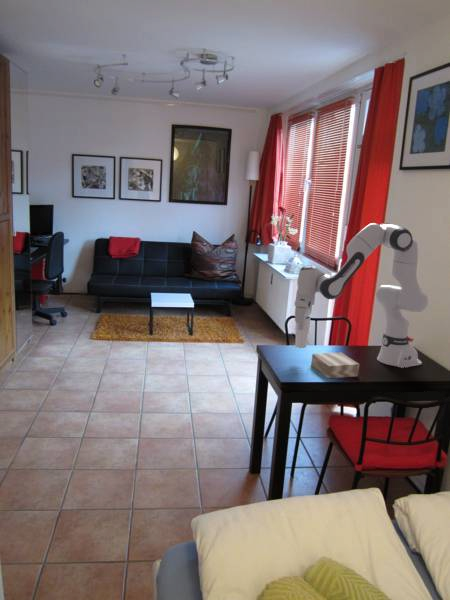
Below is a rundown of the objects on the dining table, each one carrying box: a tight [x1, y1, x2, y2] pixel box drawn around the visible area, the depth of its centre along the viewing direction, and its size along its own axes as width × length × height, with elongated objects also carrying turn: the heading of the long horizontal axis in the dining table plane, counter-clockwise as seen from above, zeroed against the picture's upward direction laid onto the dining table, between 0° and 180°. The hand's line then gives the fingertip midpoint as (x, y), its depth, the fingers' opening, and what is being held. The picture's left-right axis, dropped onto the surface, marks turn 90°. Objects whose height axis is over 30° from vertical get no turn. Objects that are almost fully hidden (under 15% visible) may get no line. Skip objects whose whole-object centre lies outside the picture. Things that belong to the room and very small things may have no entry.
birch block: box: [310, 351, 360, 379], centre depth 242 cm, size 16×16×6 cm
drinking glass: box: [294, 315, 311, 349], centre depth 245 cm, size 7×7×15 cm
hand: (302, 327), depth 245 cm, fingers closed on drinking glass, 7 cm apart
